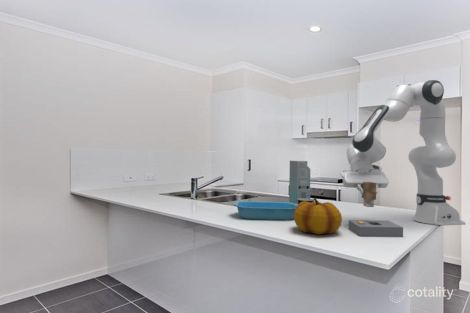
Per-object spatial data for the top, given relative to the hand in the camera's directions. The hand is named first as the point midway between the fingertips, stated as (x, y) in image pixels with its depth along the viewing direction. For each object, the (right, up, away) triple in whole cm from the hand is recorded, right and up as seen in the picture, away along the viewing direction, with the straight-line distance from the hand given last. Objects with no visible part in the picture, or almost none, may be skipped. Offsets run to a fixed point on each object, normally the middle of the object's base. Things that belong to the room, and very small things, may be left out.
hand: (369, 193), depth 140 cm
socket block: (0, -17, -5) cm, 17 cm away
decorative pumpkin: (-25, -17, -4) cm, 30 cm away
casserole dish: (-44, -16, +28) cm, 54 cm away
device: (-23, -16, +45) cm, 53 cm away
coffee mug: (-23, -16, +25) cm, 38 cm away
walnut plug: (0, -6, +1) cm, 6 cm away
